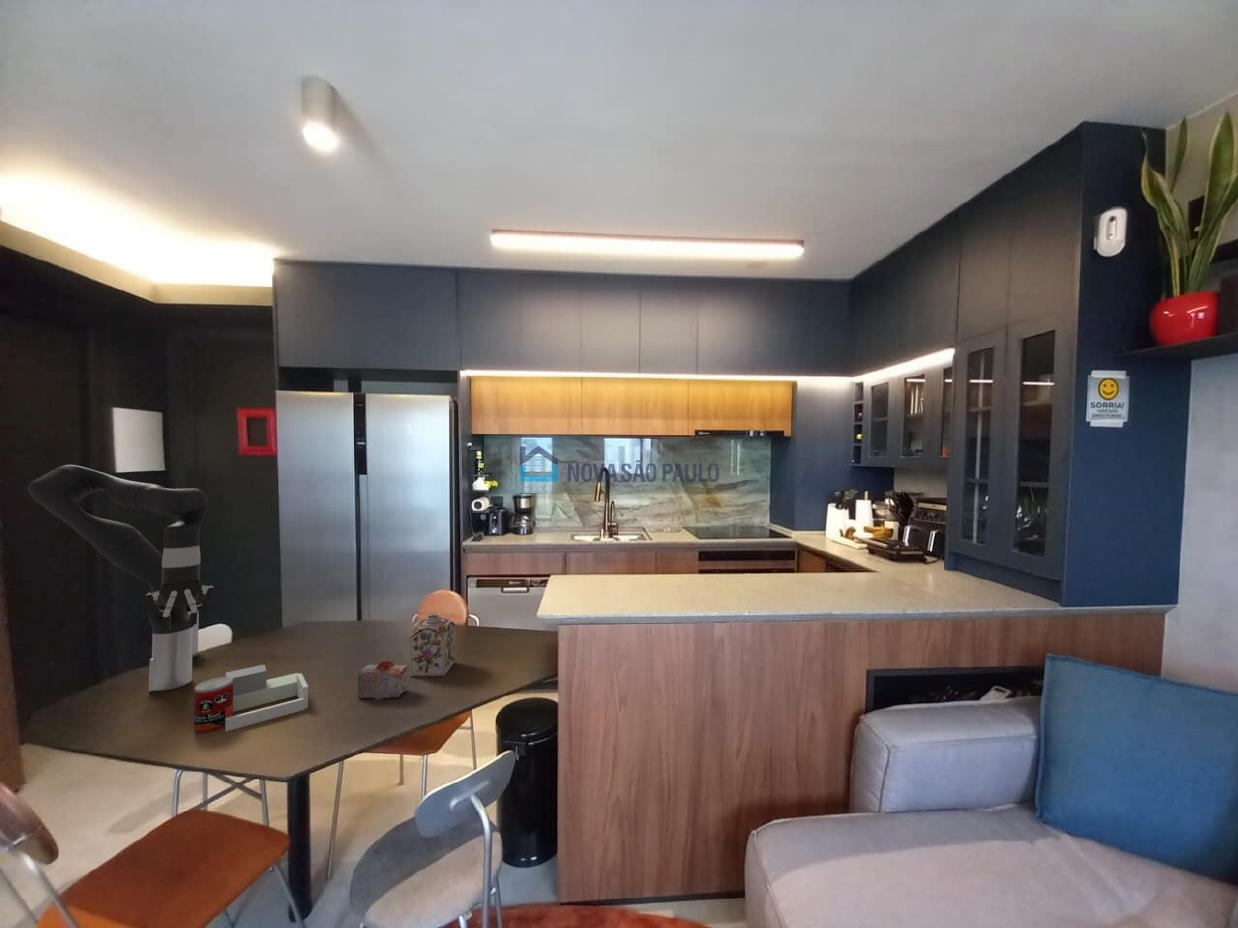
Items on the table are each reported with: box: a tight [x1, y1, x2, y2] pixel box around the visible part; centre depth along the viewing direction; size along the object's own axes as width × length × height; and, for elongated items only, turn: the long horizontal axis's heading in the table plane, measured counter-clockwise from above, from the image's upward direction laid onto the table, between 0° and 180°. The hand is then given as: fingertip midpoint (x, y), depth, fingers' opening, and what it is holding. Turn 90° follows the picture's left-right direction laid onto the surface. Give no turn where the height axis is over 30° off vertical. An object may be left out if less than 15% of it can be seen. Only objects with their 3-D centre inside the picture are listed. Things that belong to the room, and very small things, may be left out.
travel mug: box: [186, 599, 200, 658], centre depth 172 cm, size 6×7×20 cm
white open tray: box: [224, 664, 309, 732], centre depth 135 cm, size 20×19×9 cm
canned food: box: [193, 676, 234, 734], centre depth 125 cm, size 8×8×11 cm
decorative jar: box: [409, 613, 456, 677], centre depth 161 cm, size 12×12×18 cm
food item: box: [357, 660, 410, 701], centre depth 142 cm, size 14×8×10 cm, turn 92°
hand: (180, 627), depth 126 cm, fingers open, 4 cm apart
